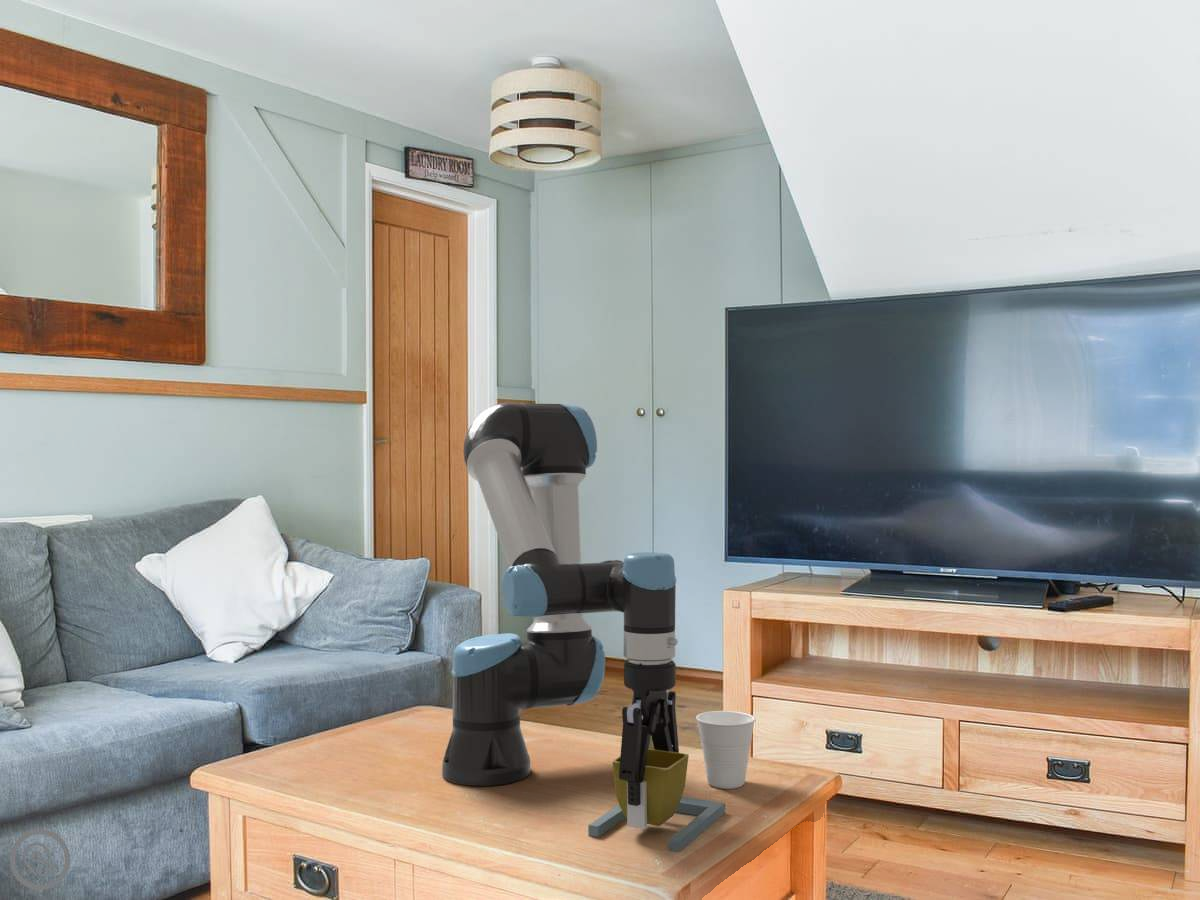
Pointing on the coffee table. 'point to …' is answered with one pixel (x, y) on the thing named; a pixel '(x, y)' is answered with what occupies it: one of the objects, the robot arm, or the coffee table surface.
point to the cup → (725, 746)
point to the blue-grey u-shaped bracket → (701, 808)
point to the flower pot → (657, 784)
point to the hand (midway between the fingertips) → (650, 817)
